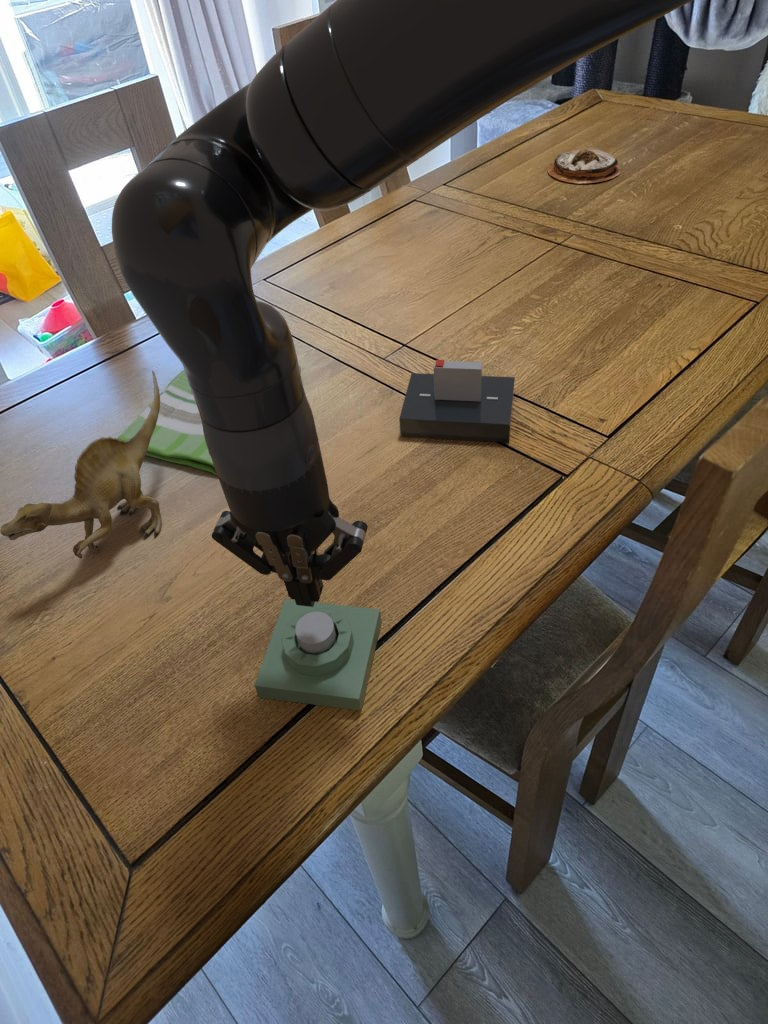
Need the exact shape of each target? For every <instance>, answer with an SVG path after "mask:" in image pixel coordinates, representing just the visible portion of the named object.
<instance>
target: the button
mask: <svg viewBox="0 0 768 1024" xmlns="http://www.w3.org/2000/svg"><path fill="white" fill-rule="evenodd" d="M295 633H296V636H297V640H298V643H299V646H300V647H301V648H302V649H303V650H304V651H305V652H307V653H310V654H320V653H323V652H325V651H327V650H328V649H330V648H331V647H332V645H333V644H334V642H335V639H336V632H335V628H334V624H333V621H332V619H331V618H330V616H328V615H327V614H325V613H323V612H311V613H308V614H306V615H304V616H302V617H301V618H300V619H299V621H298V622H297V624H296V627H295Z"/></svg>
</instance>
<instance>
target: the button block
mask: <svg viewBox="0 0 768 1024" xmlns="http://www.w3.org/2000/svg"><path fill="white" fill-rule="evenodd" d="M311 612H323V613H325V614H327V615H328V616H330V618H331V619H332V621H333V624H334V628H335V632H336V639H335V642H334V644H333V645H332V647H331V648H330V649H328V650H327V651H325V652H323V653H320V654H310V653H307V652H305V651H304V650H303V649H302V648H301V647H300V646H299V643H298V640H297V636H296V633H295V627H296V624H297V622H298V621H299V619H300V618H301V617H302V616H304V615H306V614H308V613H311ZM382 623H383V620H382V614H381V609H379V608H371V607H361V606H352V605H342V604H333V603H326V602H325V603H324V602H315V604H314V606H313V607H308V606H299V605H296V602H295V600H294V599H286V598H285V599H284V600H283V602H282V606H281V608H280V611H279V614H278V617H277V620H276V622H275V625H274V628H273V631H272V634H271V637H270V639H269V642H268V645H267V648H266V651H265V654H264V657H263V660H262V662H261V665H260V668H259V671H258V674H257V676H256V679H255V682H254V688H255V690H256V693H257V695H258V697H259V698H261V699H269V700H276V701H284V702H285V701H286V702H293V703H299V704H305V705H312V706H313V705H314V706H320V707H321V706H322V707H328V708H338V709H345V710H346V709H347V710H350V711H351V710H353V711H360V712H362V711H363V707H364V703H365V702H364V701H365V698H366V693H367V689H368V684H369V681H370V675H371V671H372V667H373V662H374V658H375V653H376V649H377V644H378V640H379V636H380V631H381V628H382Z"/></svg>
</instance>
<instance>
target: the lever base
mask: <svg viewBox="0 0 768 1024" xmlns="http://www.w3.org/2000/svg"><path fill="white" fill-rule="evenodd" d="M515 380H516V377H515V376H497V375H496V376H494V375H492V376H491V375H482V397H481V402H478V401H455V400H435V393H434V373H422V372H421V373H417V372H411V374H410V377H409V381H408V384H407V389H406V392H405V395H404V399H403V403H402V407H401V410H400V415H399V418H398V419H399V421H398V422H399V431H400V437H403V438H416V439H417V438H419V439H435V440H436V439H437V440H452V441H453V440H454V441H455V440H456V441H468V442H469V441H470V442H472V441H473V442H487V443H503V444H504V443H507V444H508V443H510V438H511V436H510V435H511V428H512V427H511V426H512V417H513V407H514V398H515V397H514V395H515V382H516V381H515Z"/></svg>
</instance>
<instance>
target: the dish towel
mask: <svg viewBox="0 0 768 1024" xmlns="http://www.w3.org/2000/svg"><path fill="white" fill-rule="evenodd" d="M299 369H300V373H301V374H302V371H301V370H302V367H301V365H300V364H299ZM153 401H154V400H152V401H151V402H150V403H149V404H147V406H146V407H145V408H144V410H143V411H142V413H141V414H140V415H138V416H137V418H135V420H133V422H131V424H130V425H129V426H128V427H127V428H126V429H125V430H124V431H123V432H122V433H121V434H119V435H118V437H117V439H119V440H123V441H128V440H129V439H130V438H133V436H134V435H135V434H136V433H137V432H138V431H139V429H140V428H141V427H142V425H143V424H144V422H145V420H146V418H147V417H148V415H149V413H150V411H151V408H152V405H153ZM145 456H148V457H151V458H155V459H159V460H162V461H165V462H170V463H174V464H177V465H178V464H179V465H184V466H189V467H192V468H195V469H198V470H201V471H205V472H207V473H208V472H209V473H211V474H213V475H215V476H218V475H217V473H216V470H215V467H214V464H213V461H212V459H211V456H210V455H209V451H208V448H207V445H206V441H205V437H204V432H203V426H202V421H201V417H200V414H199V410H198V408H197V405H196V402H195V399H194V396H193V393H192V391H191V388H190V385H189V382H188V380H187V377H186V374H185V370H184V369H183V370H181V371H180V372H179V373H177V374H176V376H174V377H173V378H172V379H171V380H170V381H169V383H167V385H166V386H165V388H164V389H163V390H162V392H161V393H160V410H159V415H158V419H157V423H156V426H155V429H154V432H153V434H152V437H151V440H150V443H149V446H148V450H147V452H146V455H145Z"/></svg>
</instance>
